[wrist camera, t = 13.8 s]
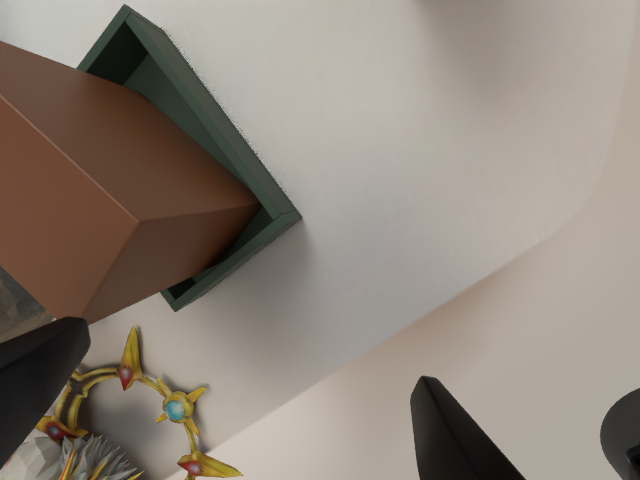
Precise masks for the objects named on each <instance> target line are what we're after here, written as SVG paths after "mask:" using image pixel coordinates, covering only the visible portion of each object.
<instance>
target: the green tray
mask: <svg viewBox="0 0 640 480" xmlns="http://www.w3.org/2000/svg"><path fill="white" fill-rule="evenodd" d="M76 69H78V70H80V71H83V72H86V73H88V74H91V75H94V76H97V77H99V78H102V79H105V80H108V81H110V82H113V83H116V84H118V85H121V86H124V87H127V88H129V89H132V90H135V91H137V92H140V93H142V94H143V95H144V96H145V97H146V98H147V99H148V100H149V101H151V102H152V103H153V104H154V105H155V106H156V107H157V108H158V109H160V110H161V111H162V112H163V113H164V114H165V115H166V116H168V117H169V118H170V119H171V120H172V121H173V122H174V123H175V124H177V125H178V126H179V127H180V128H181V129H182V130H183V131H184V132H186V133H187V134H188V135H189V136H190V137H191V138H192V139H193V140H195V141H196V142H197V143H198V144H199V145H200V146H201V147H202V148H204V149H205V150H206V151H207V152H208V153H209V154H210V155H212V156H213V157H214V158H215V159H216V160H217V161H218V162H219V163H221V164H222V165H223V166H224V167H225V168H226V169H227V170H228V171H230V172H231V173H232V174H233V175H234V176H235V177H236V178H237V179H239V180H240V181H241V182H242V183H243V184H244V185H245V186H246V187H248V188H249V189H250V190H251V191H252V192H253V193H254V195H255V196H256V197H257V199H258V200H259V201H260V203H261V204H262V205H263V206H262V208H261V209H260V210H259V212H258V213H257V214H256V216H255V217H254V218H253V220H252V221H251V222H250V224H249V225H248V226H247V228H246V229H245V230H244V232H243V233H242V234H241V236H240V237H239V238H238V240H237V241H236V242H235V244H234V245H233V246H232V248H231V249H230V250H229V252H228V253H227V254H226V256H225V257H224V258H223V260H222V261H221V262H220V264H217V265H215V266H213V267H211V268H209V269H207V270H205V271H203V272H200V273H198V274H196V275H194V276H192V277H190V278H188V279H186V280H184V281H181V282H179V283H177V284H175V285H173V286H171V287H169V288H167V289H164V290H162V291H160V293H161V294H162V295H163V297H164V298H165V299H166V301H167V302H168V303H169V304H170V306H171V308H172V309H173V310H174V312H177V311H178V310H180V309H182V308H183V307H185V306H187V305H188V304H190V303H192V302H193V301H195V300H197V299H198V298H200V297H202V296H203V295H204V294H206V293H207V292H208V291H209V290H211V289H212V288H213V287H214V286H216V285H217V284H218V283H220V282H221V281H222V280H223V279H225V278H226V277H227V276H229V275H230V274H231V273H232V272H234V271H235V270H236V269H238V268H239V267H240V266H241V265H243V264H244V263H245V262H246V261H248V260H249V259H250V258H252V257H253V256H254V255H255V254H257V253H258V252H259V251H261V250H262V249H263V248H264V247H266V246H267V245H268V244H269V243H271V242H272V241H273V240H275V239H276V238H277V237H278V236H280V235H281V234H282V233H284V232H285V231H286V230H287V229H289V228H290V227H291V226H293V225H294V224H295V223H296V222H298V221H299V220H300V219H301V218H302V216H301V215H300V213H299V212H298V211H297V209H296V208H295V207H294V205H293V204H292V203H291V201H290V200H289V199H288V197H287V196H286V195H285V193H284V192H283V191H282V189H281V188H280V187H279V185H278V184H277V183H276V181H275V180H274V179H273V177H272V176H271V174H270V173H269V172H268V170H267V169H266V168H265V166H264V165H263V164H262V162H261V161H260V160H259V158H258V157H257V156H256V154H255V153H254V152H253V150H252V149H251V148H250V146H249V145H248V144H247V142H246V141H245V140H244V138H243V137H242V135H241V134H240V133H239V131H238V130H237V129H236V127H235V126H234V125H233V123H232V122H231V121H230V119H229V118H228V117H227V115H226V114H225V113H224V111H223V110H222V109H221V107H220V106H219V105H218V103H217V102H216V101H215V99H214V98H213V96H212V95H211V94H210V92H209V91H208V90H207V88H206V87H205V86H204V84H203V83H202V82H201V80H200V79H199V78H198V76H197V75H196V74H195V72H194V71H193V70H192V68H191V67H190V66H189V64H188V63H187V62H186V60H185V59H184V58H183V56H182V55H181V53H180V52H179V51H178V49H177V48H176V47H175V45H174V44H173V43H172V41H171V40H170V39H169V37H168V36H167V35H166V33H165V32H164V31H163V30H162V29H161V28H159V27H158V26H156V25H155V24H153V23H152V22H151V21H149V20H148V19H146V18H145V17H143V16H142V15H140V14H139V13H137V12H136V11H134V10H133V9H131V8H130V7H129V6H127V5H126V4H124V5H123V6H122V7H121V9H120V10H119V11H118V13H117V14H116V16H115V17H114V18H113V20H112V21H111V22H110V24H109V25H108V26H107V28H106V29H105V30H104V32H103V33H102V35H101V36H100V37H99V39H98V40H97V41H96V43H95V44H94V45H93V47H92V48H91V49H90V51H89V52H88V54H87V55H86V56H85V58H84V59H83V60H82V62H81V63H80V64H79V66H78V67H77V68H76Z"/></svg>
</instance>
